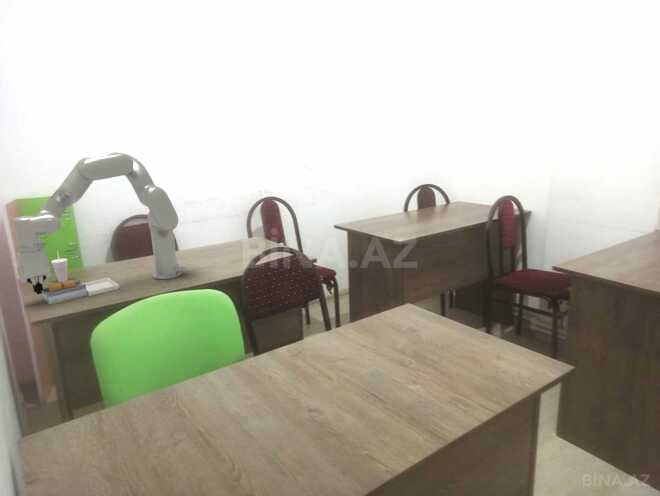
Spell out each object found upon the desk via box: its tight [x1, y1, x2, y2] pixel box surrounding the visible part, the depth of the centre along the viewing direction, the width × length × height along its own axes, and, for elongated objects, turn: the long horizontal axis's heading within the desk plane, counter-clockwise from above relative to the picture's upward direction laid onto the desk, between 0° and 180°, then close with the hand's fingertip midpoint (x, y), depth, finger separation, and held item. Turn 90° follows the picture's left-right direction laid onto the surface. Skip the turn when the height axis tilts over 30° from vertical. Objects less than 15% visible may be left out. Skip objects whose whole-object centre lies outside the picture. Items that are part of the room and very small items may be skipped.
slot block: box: [42, 279, 89, 305], centre depth 195 cm, size 14×10×4 cm
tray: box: [81, 277, 121, 297], centre depth 204 cm, size 12×14×2 cm
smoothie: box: [50, 250, 69, 283], centre depth 215 cm, size 6×6×14 cm
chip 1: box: [47, 282, 62, 292], centre depth 192 cm, size 4×4×3 cm
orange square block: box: [61, 279, 76, 289], centre depth 196 cm, size 4×4×3 cm
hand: (39, 293), depth 189 cm, fingers closed
